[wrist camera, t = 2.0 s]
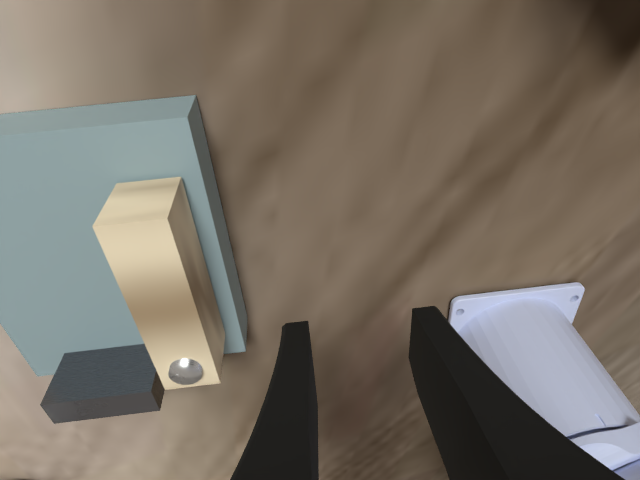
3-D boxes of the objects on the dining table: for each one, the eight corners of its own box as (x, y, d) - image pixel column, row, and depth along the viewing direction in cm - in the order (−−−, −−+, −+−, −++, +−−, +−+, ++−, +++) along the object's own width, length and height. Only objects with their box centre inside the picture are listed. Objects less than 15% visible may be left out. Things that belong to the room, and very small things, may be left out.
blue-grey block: (247, 317, 26) (243, 400, 22) (55, 340, 26) (11, 428, 21) (195, 95, 18) (173, 152, 14) (-80, 122, 18) (-193, 189, 14)
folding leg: (225, 333, 23) (219, 388, 20) (176, 339, 23) (163, 395, 20) (181, 176, 17) (165, 223, 15) (116, 183, 17) (89, 231, 15)
